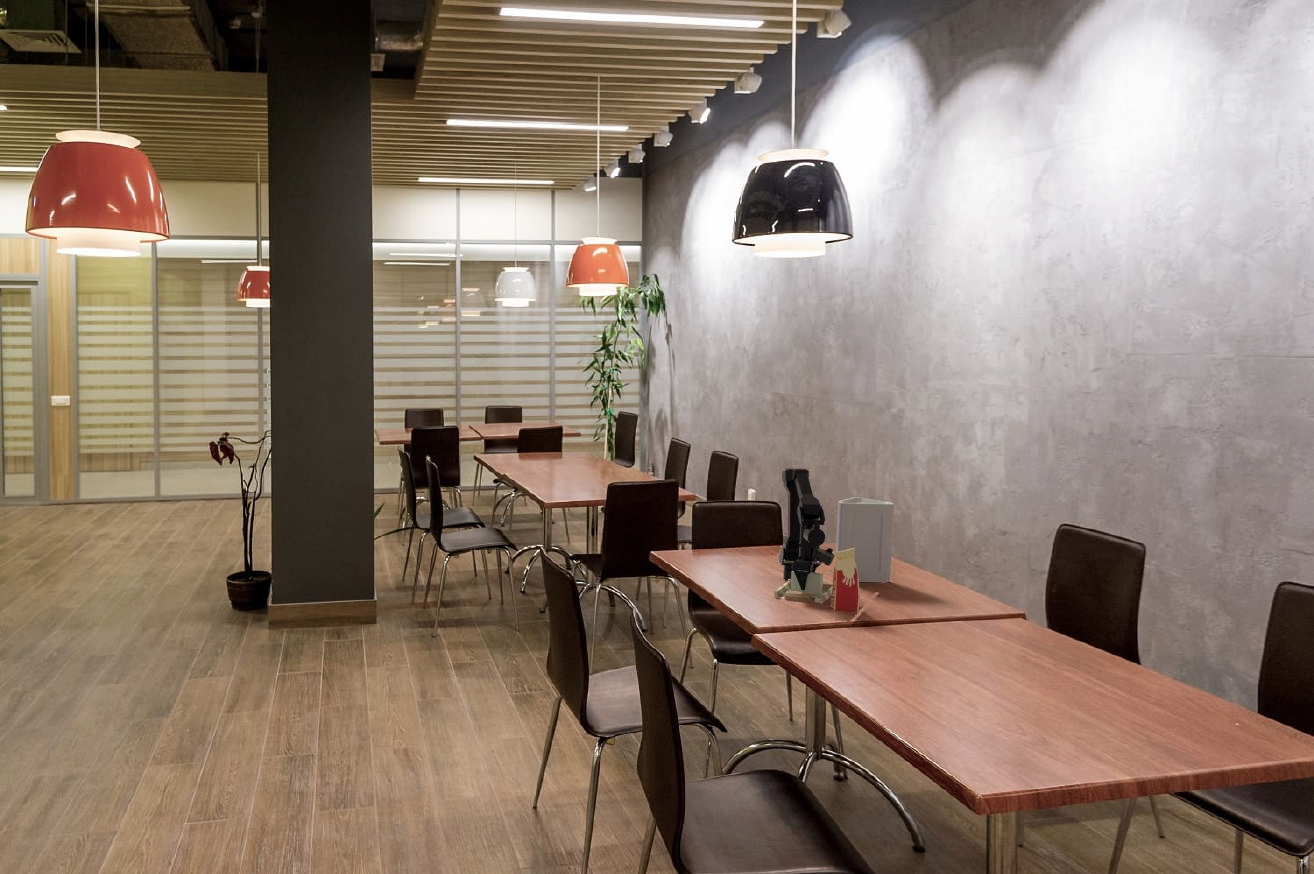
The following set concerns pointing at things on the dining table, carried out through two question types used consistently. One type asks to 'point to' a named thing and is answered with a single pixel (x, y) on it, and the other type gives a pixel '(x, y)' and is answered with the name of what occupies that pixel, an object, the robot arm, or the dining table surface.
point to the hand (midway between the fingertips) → (806, 587)
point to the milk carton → (845, 582)
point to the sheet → (809, 583)
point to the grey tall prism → (867, 536)
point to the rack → (818, 599)
